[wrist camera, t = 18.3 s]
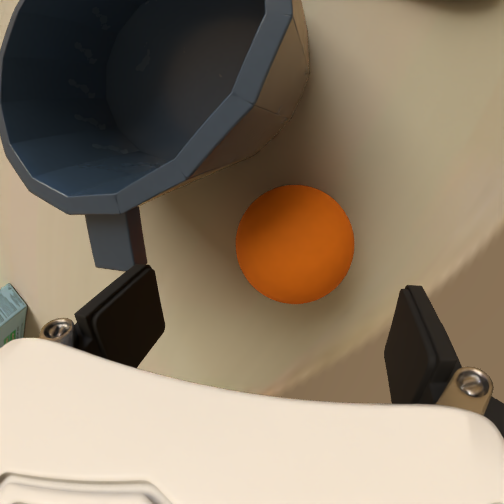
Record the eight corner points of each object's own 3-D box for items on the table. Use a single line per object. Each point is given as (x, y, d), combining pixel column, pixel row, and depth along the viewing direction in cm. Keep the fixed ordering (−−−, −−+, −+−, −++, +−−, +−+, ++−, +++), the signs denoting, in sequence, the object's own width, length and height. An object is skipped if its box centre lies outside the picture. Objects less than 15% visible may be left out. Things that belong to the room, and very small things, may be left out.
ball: (352, 179, 17) (367, 204, 11) (344, 274, 19) (349, 333, 14) (249, 175, 18) (214, 197, 13) (252, 267, 21) (223, 320, 15)
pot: (298, -63, 10) (272, -153, 1) (309, 216, 18) (293, 301, 10) (110, -19, 14) (23, -50, 5) (112, 210, 22) (16, 261, 13)
